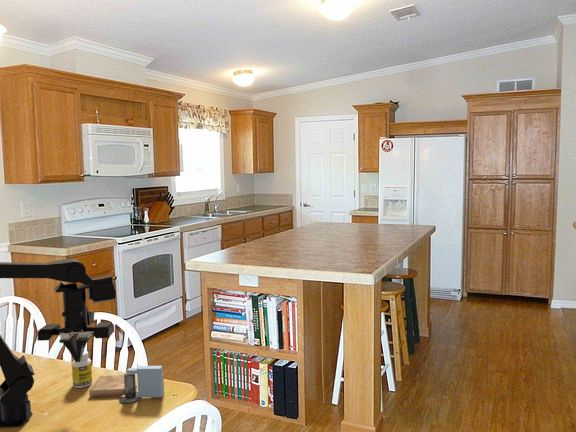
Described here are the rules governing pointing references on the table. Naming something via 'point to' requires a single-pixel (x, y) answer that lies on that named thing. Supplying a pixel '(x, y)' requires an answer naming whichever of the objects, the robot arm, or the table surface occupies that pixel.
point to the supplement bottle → (82, 372)
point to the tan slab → (116, 388)
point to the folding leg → (148, 380)
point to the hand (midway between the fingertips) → (78, 361)
